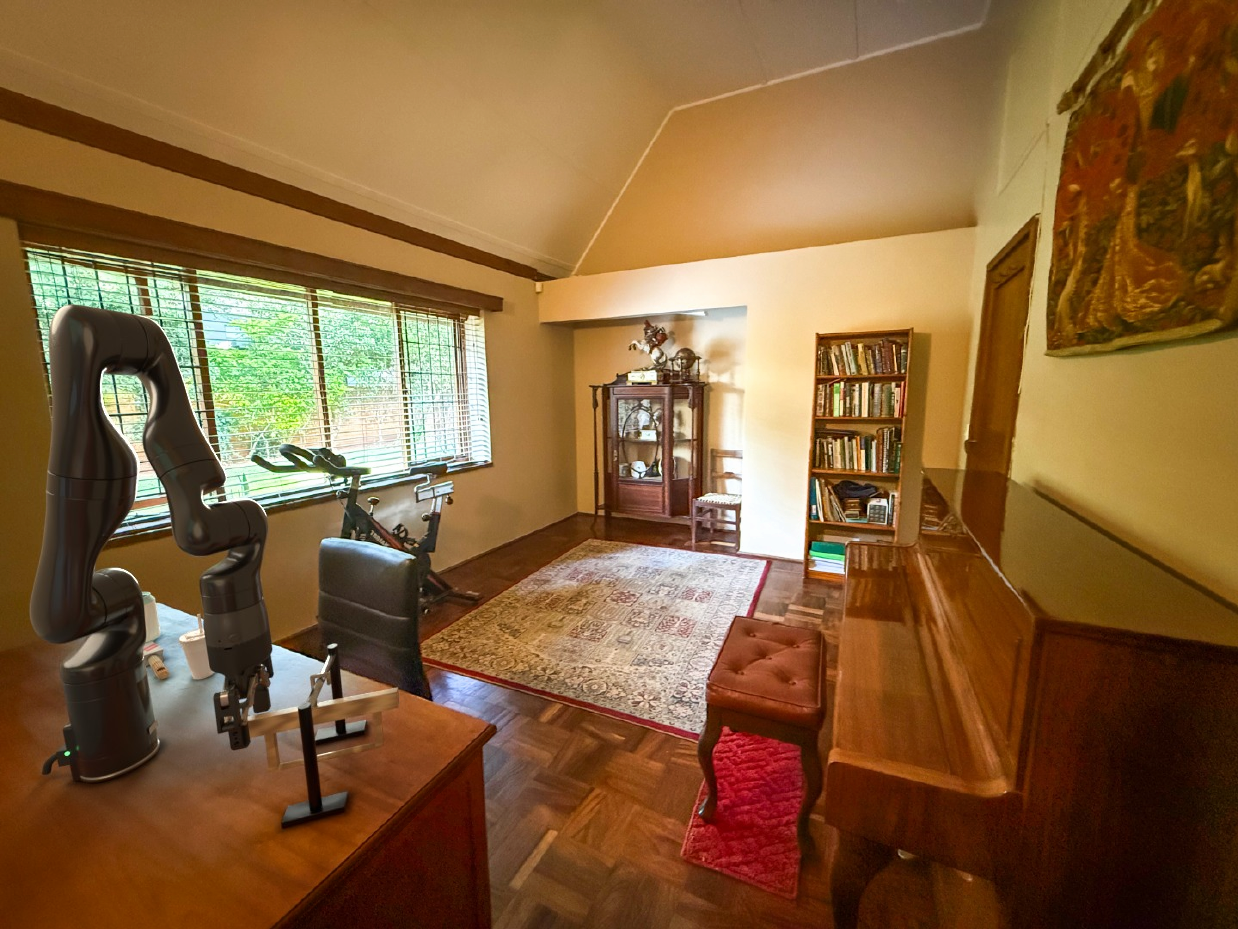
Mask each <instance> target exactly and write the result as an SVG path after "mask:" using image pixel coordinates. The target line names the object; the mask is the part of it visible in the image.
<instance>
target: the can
mask: <svg viewBox="0 0 1238 929" xmlns="http://www.w3.org/2000/svg"><path fill="white" fill-rule="evenodd" d="M142 595H143V600H144V610H145V622H146V633H147V638H146V642H145V643H148V642H151V641H152V642H154V641H155V640H156V639H157V638H159V637H160V636H161V632H162V631H161V628H160V621H159V620H160V619H159V614H158V609H157V603H156V597H155V596H153V595H152V594H151V592H150V591H142Z"/></svg>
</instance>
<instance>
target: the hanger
mask: <svg viewBox="0 0 1238 929" xmlns="http://www.w3.org/2000/svg"><path fill="white" fill-rule="evenodd" d="M320 677H326V680H325V682H326V685H327V686H331V676H330V671H329V672H326V673H320V672H319V673H315V674H311V675H310V676H309V679H310V688H311V689H310V690H311V691H312V689H313V687H314V685H315V683H316V679H317V678H320ZM399 707H400V696H399V687H398V686H397V687H392V688H387V689H382V690H377V691H376V690H375V691H372V692H366V693H361V694H355V695H351V696H350V695H349V696H345V697H343V698H339V699H334V700H333V699H330V700H329V699H328V700H325V701H319V702H318V699H317V700H316V703H315V705H314V707H313V709H312V717H313V726H316V725H317V726H318V725H321V724H327V723H333V722H335V721H337V720H341V719H345V720H346V719H350V718H355V717H361V716H365V715H371V714H372V722H373V734H374V741H373V742H370V743H365V744H361V745H356V746H352V747H348V748H342V749H340V750H334V751H330V752H326V753H320V754H317V761H318V763H319V762H324V761H328V760H333V759H336V758H341V757H346V756H350V755H355V754H359V753H363V752H369V751H372V750H376V749H380V748H383V746H384V744H385V733H384V723H383V722H384V721H383V712H384V711H389V710H394V709H399ZM247 722H248V727H249V733H250V739H254V738H258V737H264V746H265V751H266V760H267V767H268V772H269V773H271V772H273V773H276V772H281V771H284V770H289V769H293V768H298V767H302V766H304V757H303V758H298V759H294V760H290V761H284V762H281V758H280V752H279V745H278V736H277V734H278V733H282V732H283V733H284V732H288V731H292V730H298V729H300V723H299V715H298V706H293V707H288V708H283V709H276V710H272V711H267V712H262V713H255V714H252V715H248V721H247Z"/></svg>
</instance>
